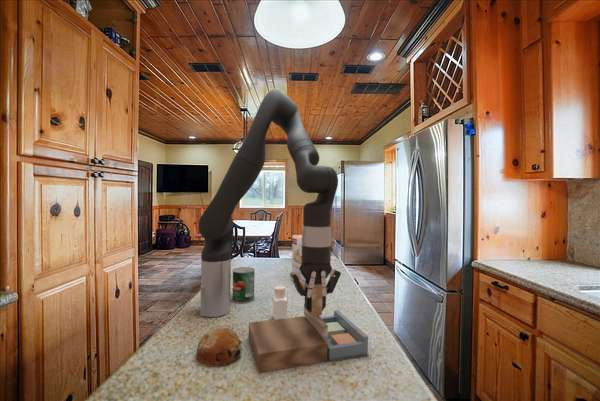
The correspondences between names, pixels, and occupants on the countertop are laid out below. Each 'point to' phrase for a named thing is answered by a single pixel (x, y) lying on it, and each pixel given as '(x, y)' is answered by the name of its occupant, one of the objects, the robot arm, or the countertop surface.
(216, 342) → the bread roll
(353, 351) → the tray
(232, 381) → the countertop surface
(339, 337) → the terracotta tile
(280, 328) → the board
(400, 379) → the countertop surface
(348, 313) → the countertop surface
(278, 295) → the pepper shaker
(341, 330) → the sage tile
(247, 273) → the canned tomato
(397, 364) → the countertop surface
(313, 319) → the long tan wooden block
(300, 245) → the cracker box
